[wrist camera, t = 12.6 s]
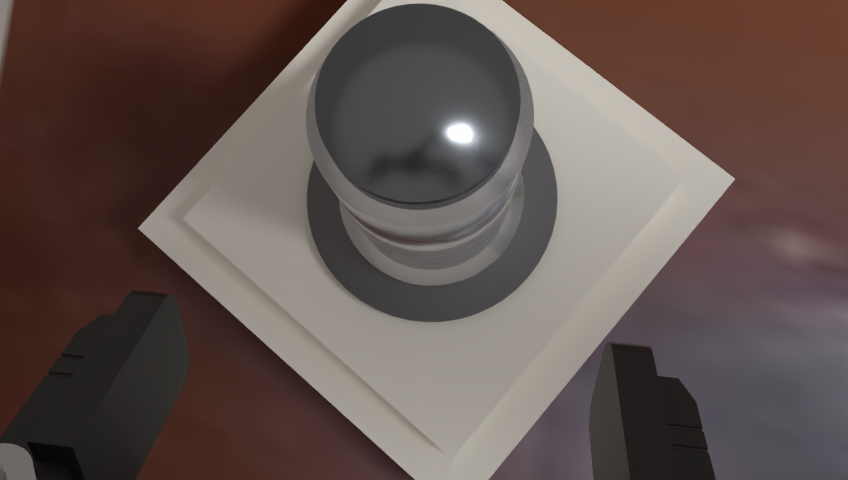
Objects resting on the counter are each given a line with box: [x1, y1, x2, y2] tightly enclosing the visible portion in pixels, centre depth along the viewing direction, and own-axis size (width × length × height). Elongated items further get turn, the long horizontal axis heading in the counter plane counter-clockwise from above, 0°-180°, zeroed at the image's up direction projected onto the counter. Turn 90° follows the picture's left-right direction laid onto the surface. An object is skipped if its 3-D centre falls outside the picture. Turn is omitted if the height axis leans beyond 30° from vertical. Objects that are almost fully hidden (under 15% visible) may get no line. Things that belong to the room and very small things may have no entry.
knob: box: [306, 3, 534, 288], centre depth 21 cm, size 6×6×10 cm
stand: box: [138, 0, 735, 480], centre depth 28 cm, size 16×16×4 cm
